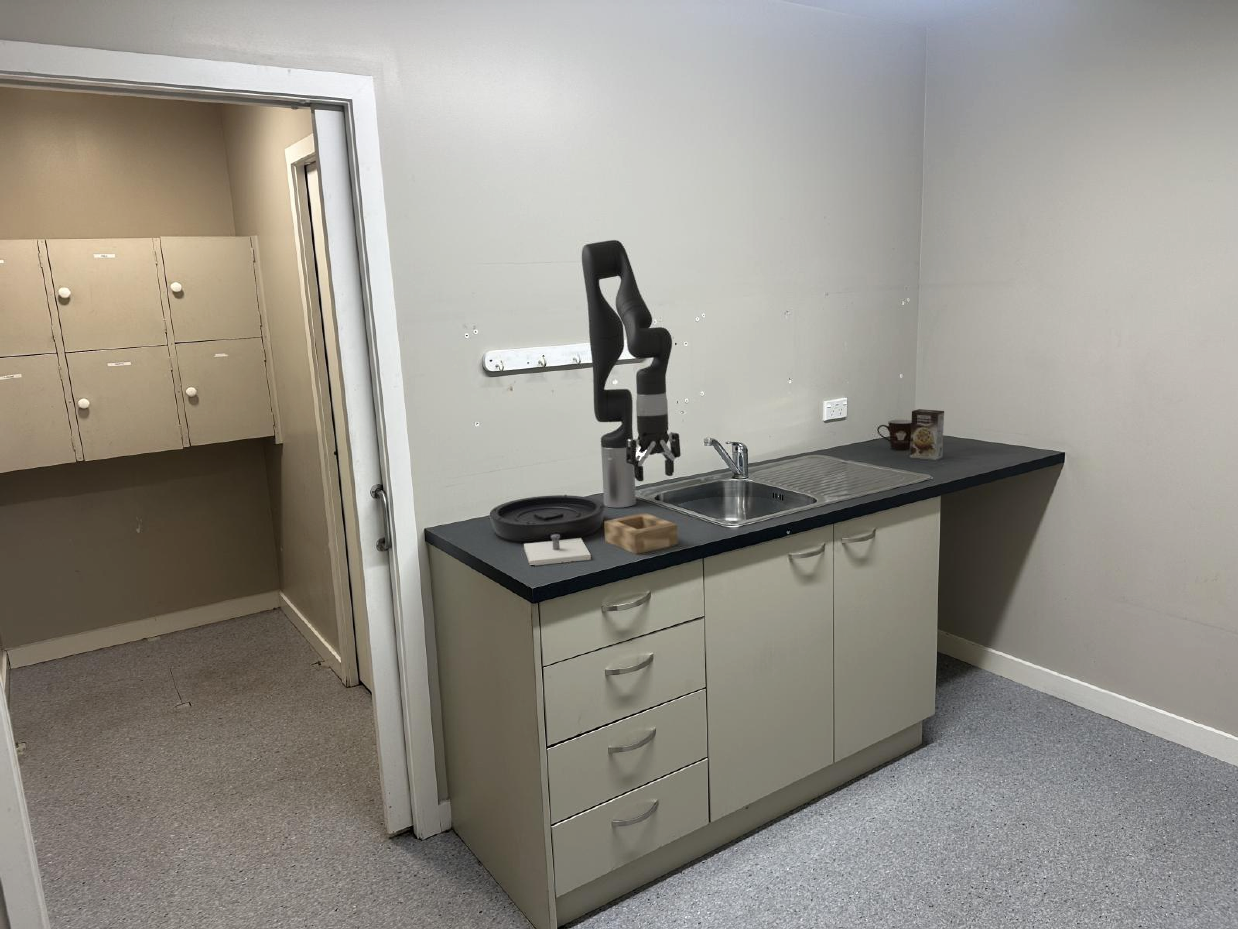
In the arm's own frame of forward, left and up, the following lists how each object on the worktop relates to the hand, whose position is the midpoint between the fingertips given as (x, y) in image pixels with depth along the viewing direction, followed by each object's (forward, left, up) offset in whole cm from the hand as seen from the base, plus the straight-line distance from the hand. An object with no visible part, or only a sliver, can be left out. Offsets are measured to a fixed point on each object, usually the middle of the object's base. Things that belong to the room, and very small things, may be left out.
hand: (654, 478), depth 207 cm
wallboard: (+4, -25, -15) cm, 30 cm away
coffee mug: (-79, +110, -16) cm, 136 cm away
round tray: (-19, -24, -16) cm, 35 cm away
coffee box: (-61, +111, -16) cm, 127 cm away
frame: (+2, -4, -15) cm, 16 cm away
